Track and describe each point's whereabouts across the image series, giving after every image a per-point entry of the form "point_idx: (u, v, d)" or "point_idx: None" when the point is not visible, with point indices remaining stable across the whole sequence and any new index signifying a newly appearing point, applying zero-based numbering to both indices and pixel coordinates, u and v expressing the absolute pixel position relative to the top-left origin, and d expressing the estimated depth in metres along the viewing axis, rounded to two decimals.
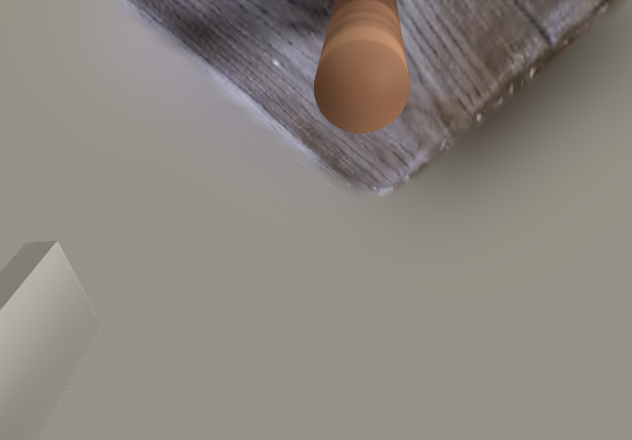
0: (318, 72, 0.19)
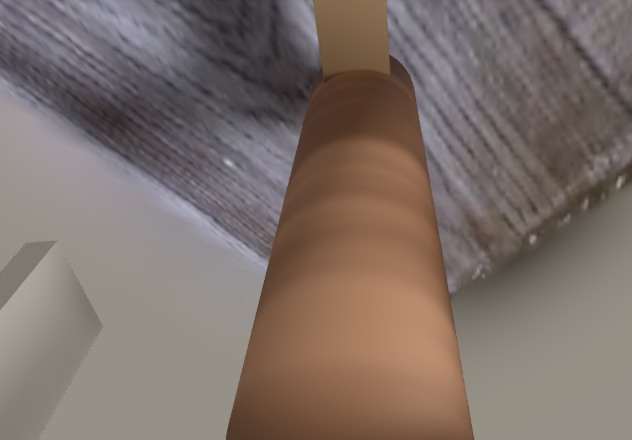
0: (234, 423, 0.07)
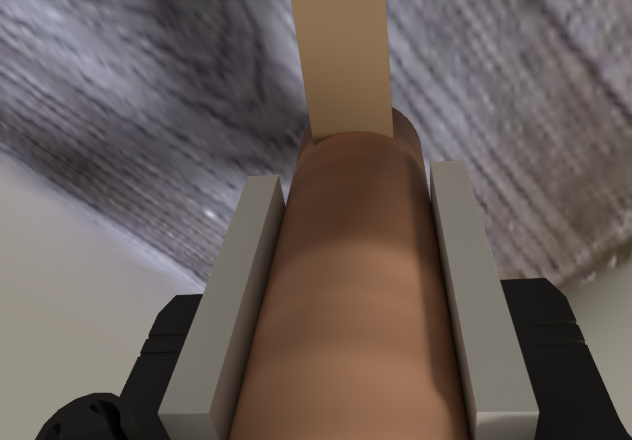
0: None
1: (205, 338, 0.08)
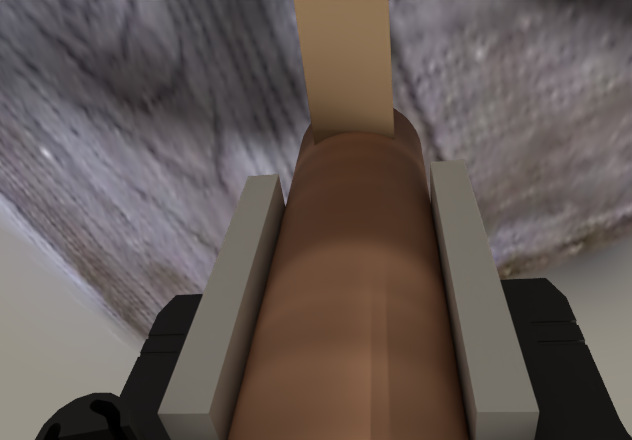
0: None
1: (205, 338, 0.08)
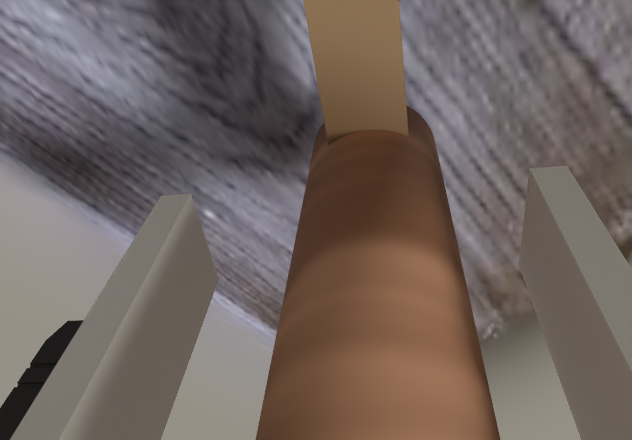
0: None
1: (71, 371, 0.08)
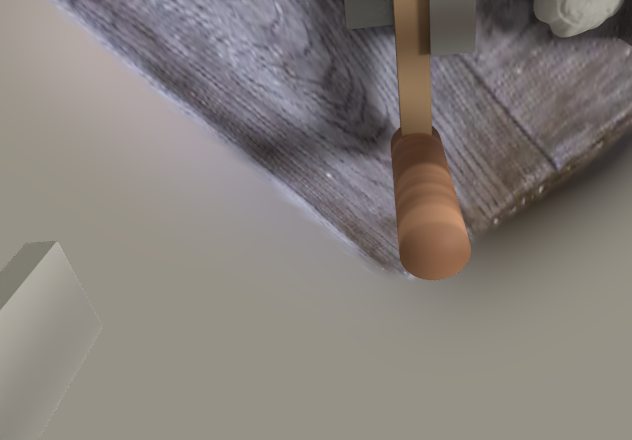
0: (404, 242, 0.26)
1: None
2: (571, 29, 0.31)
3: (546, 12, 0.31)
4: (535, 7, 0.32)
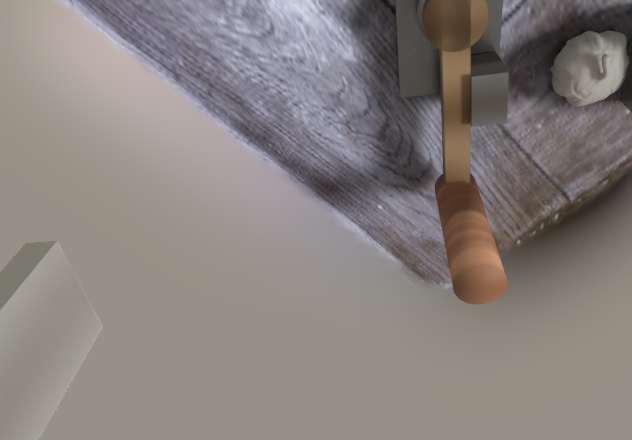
0: (457, 278, 0.35)
1: None
2: (582, 103, 0.40)
3: (562, 89, 0.40)
4: (553, 83, 0.41)
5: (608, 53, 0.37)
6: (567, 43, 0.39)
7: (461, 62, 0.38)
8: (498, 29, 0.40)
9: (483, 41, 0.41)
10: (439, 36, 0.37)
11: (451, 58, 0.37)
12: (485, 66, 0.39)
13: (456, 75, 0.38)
